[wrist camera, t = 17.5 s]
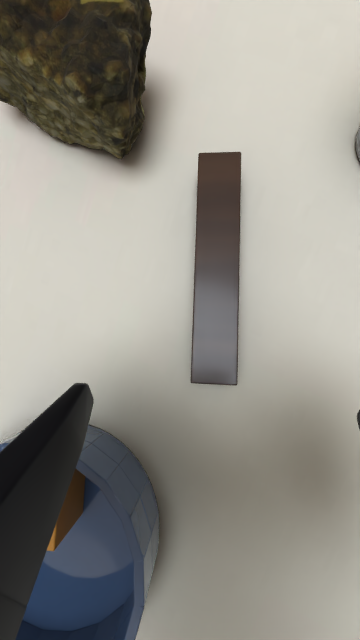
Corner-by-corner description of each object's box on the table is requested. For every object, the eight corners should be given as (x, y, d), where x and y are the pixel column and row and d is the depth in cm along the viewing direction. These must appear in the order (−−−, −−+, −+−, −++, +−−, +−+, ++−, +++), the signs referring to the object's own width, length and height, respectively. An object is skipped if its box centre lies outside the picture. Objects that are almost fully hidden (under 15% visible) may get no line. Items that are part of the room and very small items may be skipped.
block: (83, 513, 17) (54, 552, 14) (31, 508, 18) (-9, 545, 14) (87, 456, 18) (59, 481, 14) (36, 452, 18) (-2, 476, 15)
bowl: (162, 636, 17) (146, 740, 12) (-33, 625, 18) (-112, 716, 13) (157, 420, 18) (142, 442, 14) (-23, 422, 19) (-92, 443, 15)
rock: (-132, 41, 13) (-109, -154, 12) (-12, 138, 22) (7, 30, 21) (124, 121, 14) (164, -52, 13) (140, 183, 23) (164, 82, 22)
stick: (237, 385, 15) (241, 151, 17) (190, 383, 16) (198, 152, 17) (232, 380, 18) (236, 177, 20) (192, 378, 18) (199, 178, 20)
